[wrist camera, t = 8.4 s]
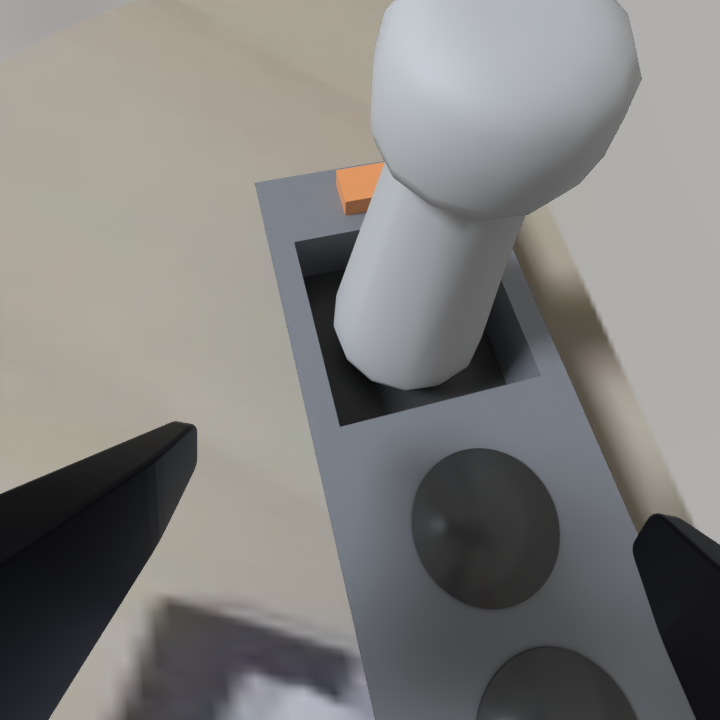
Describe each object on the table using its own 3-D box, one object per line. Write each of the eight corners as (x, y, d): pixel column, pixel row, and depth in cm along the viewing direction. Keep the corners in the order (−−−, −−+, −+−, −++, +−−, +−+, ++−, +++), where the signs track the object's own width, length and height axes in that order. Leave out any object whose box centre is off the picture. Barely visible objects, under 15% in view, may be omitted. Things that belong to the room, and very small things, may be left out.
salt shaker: (475, 303, 19) (732, -60, 7) (448, 420, 17) (736, 217, 5) (355, 268, 19) (387, -144, 7) (315, 379, 17) (264, 88, 5)
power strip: (785, 1024, 12) (977, 1249, 8) (482, 1185, 11) (555, 1530, 7) (450, 194, 21) (473, 131, 18) (266, 227, 20) (250, 167, 16)
